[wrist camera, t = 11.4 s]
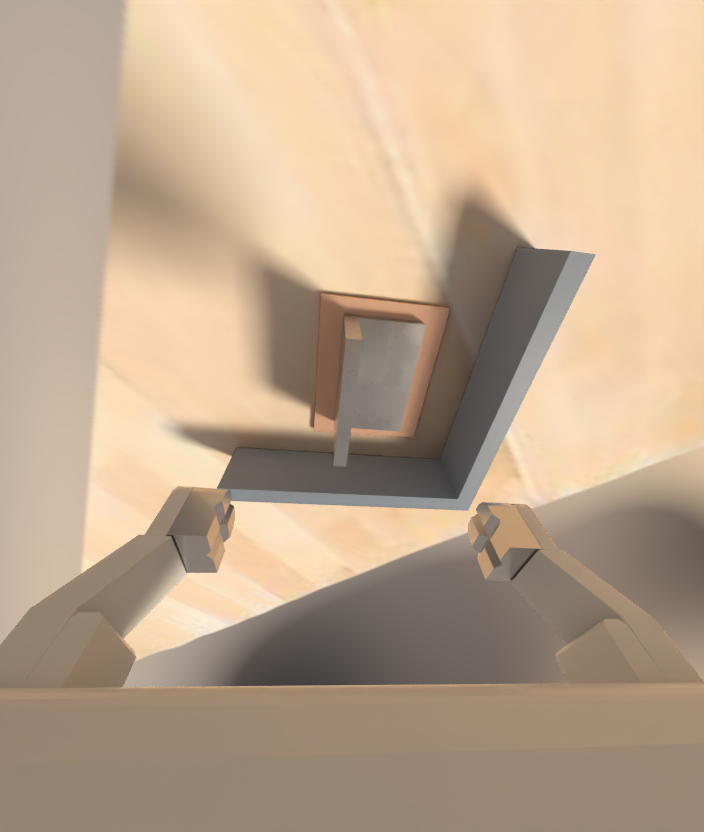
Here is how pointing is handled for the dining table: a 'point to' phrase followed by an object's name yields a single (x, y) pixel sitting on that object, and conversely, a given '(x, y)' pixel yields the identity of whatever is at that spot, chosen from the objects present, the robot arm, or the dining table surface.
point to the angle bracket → (373, 376)
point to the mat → (331, 347)
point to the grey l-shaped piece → (474, 423)
